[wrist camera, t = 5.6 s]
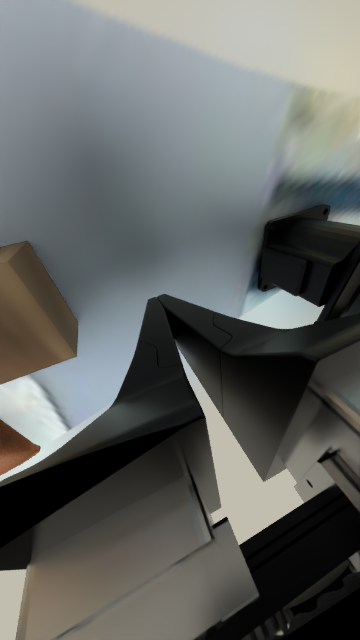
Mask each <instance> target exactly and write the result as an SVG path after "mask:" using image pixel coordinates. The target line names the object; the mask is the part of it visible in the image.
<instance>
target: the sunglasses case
mask: <svg viewBox="0 0 360 640" xmlns="http://www.w3.org/2000/svg"><path fill="white" fill-rule="evenodd" d="M39 451H40V446H38V445H36V444H33V443H32V442H31V441H29V440H28V439H27V438H25V437H24V436H23V435H21V434H19V433H18V432H17V431H16V430H14V429H13V428H11V427H10V426H9V425H7V424H6V423H4V422H3V421H2V420H0V475H2V474H4V473H6V472H8V471H9V470H11V469H13V468H15V467H17V466H18V465H21V464H22V463H23V462H25V461H27V460H29V459H30V458H31V457H33V456H35V455H36V454H37V453H38V452H39Z"/></svg>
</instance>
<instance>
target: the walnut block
mask: <svg viewBox="0 0 360 640" xmlns="http://www.w3.org/2000/svg"><path fill="white" fill-rule="evenodd" d="M77 341H78V321H77V320H76V318H75V316H74V315H73V313H72V311H71V310H70V308H69V307H68V305H67V303H66V302H65V300H64V299H63V297H62V295H61V294H60V292H59V291H58V289H57V287H56V286H55V284H54V283H53V281H52V279H51V278H50V276H49V274H48V273H47V271H46V270H45V268H44V266H43V265H42V263H41V262H40V260H39V258H38V257H37V255H36V254H35V252H34V250H33V249H32V247H31V245H30V244H29V242H28V241H25V242H21V243H16V244H12V245H8V246H4V247H0V385H1V384H3V383H6V382H9V381H11V380H14V379H17V378H19V377H22V376H25V375H28V374H30V373H33V372H36V371H38V370H41V369H44V368H47V367H49V366H52V365H55V364H57V363H60V362H63V361H65V360H68V359H71V358H74V357H76V356H77Z"/></svg>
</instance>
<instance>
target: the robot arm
mask: <svg viewBox="0 0 360 640" xmlns="http://www.w3.org/2000/svg"><path fill="white" fill-rule="evenodd" d="M329 212H330V206H329V205H320V206H317V207H314V208H311V209H307V210H304V211H301V212H297V213H294V214H291V215H287V216H284V217H281V218H277V219H274V220H271V221H269V222H268V223H267V224H266V226H265V232H264V241H263V250H262V259H261V268H260V277H259V286H258V288H259V290H261V291H262V292H265V291H267V290H270V289H273V288H275V287H279V288H281V289H283V290H285V291H286V292H289V293H290V294H292V295H294V296H300V297H301V298H304V299H305V300H307V301H309V302H311V303H313V304H314V305H316V306H318V307H321V306H323V305H325V306H324V308H323V310H322V312H321V314H320V316H319V317H318V319H317V321H315V322H314V324H312V325H307V326H303V327H298V328H294V329H276V328H271V327H267V326H263V325H260V324H255V323H251V322H247V321H243V320H240V319H236V318H233V317H229V316H226V315H223V314H220V313H217V312H214V311H212V310H209V309H206V308H203V307H200V306H197V305H195V304H192V303H189V302H186V301H183V300H180V299H178V298H175V297H172V296H169V295H166V294H163V295H160V296H157V298H156V297H154V298H151V299H148V302H147V306H146V310H145V314H144V318H143V322H142V326H141V330H140V335H139V339H138V342H137V347H136V350H135V354H134V357H133V360H132V362H131V365H130V367H129V370H128V372H127V374H126V377H125V379H124V382H123V384H122V386H121V389H120V391H119V393H118V396H117V398H116V399H115V401H114V403H113V404H112V406H111V407H110V408H109V409H108V410H107V411H106V412H104V413H103V414H102V415H101V416H99V417H98V418H97V419H96V420H94V421H93V422H92V423H91V424H89V425H88V426H87V427H86V428H85V429H83V430H82V431H81V432H80V433H78V434H77V435H76V436H75V437H73V438H72V439H71V440H70V441H68V442H67V443H66V444H65V445H63V446H62V447H61V448H59V449H58V450H57V451H56V452H54V453H52V454H51V455H49V456H48V457H46V458H45V459H44V460H42V461H40V462H39V463H37V464H35V465H33V466H31V467H29V468H27V469H25V470H23V471H21V472H19V473H17V474H15V475H12V476H10V477H8V478H6V479H4V480H2V481H1V482H0V571H3V570H19V569H27V571H26V578H25V584H24V590H23V596H22V602H21V609H20V615H19V621H18V627H17V633H16V640H360V226H358V225H352V224H346V223H339V222H333V221H327V219H328V215H329ZM271 227H272V229H271ZM176 345H177V346H178V348H179V350H180V351H181V353H182V354H183V356H184V357H185V359H186V361H187V362H188V364H189V365H190V367H191V369H192V370H193V372H194V373H195V375H196V376H197V378H198V379H199V381H200V383H201V384H202V386H203V387H204V389H205V390H206V392H207V394H208V395H209V397H210V398H211V400H212V402H213V403H214V405H215V406H216V408H217V409H218V411H219V413H220V414H221V416H222V417H223V418H224V420H225V422H226V424H227V425H228V427H229V428H230V430H231V431H232V433H233V435H234V436H235V438H236V439H237V441H238V443H239V444H240V446H241V447H242V449H243V451H244V452H245V454H246V455H247V457H248V458H249V460H250V462H251V463H252V465H253V466H254V468H255V469H256V471H257V472H258V474H259V476H260V477H261V479H262V480H263V482H264V481H266V480H268V479H270V478H271V477H273V476H275V475H276V474H278V473H280V472H281V471H283V470H285V469H286V468H287V469H288V470H289V472H290V473H291V475H292V476H293V477H294V479H295V480H296V482H297V484H296V485H295V486H294V487H295V489H296V491H297V492H298V494H299V495H300V497H301V498H302V500H303V501H304V504H302V505H301V506H299V507H297V508H296V509H294V510H293V511H291V512H290V513H288V514H286V515H285V516H283V517H282V518H281V519H279V520H277V521H276V522H274V523H273V524H271V525H270V526H268V527H266V528H265V529H263V530H262V531H261V532H259V533H257V534H256V535H254V536H253V537H251V538H250V539H248V540H247V541H245V542H244V543H242V544H240V545H238V542H237V540H236V538H235V535H234V533H233V530H232V528H231V525H230V523H229V520H228V518H227V517H225V518H223V519H222V520H220V521H219V522H217V523H215V524H214V522H213V520H212V517H211V515H210V514H211V513H212V512H214V511H216V510H218V509H219V508H221V504H220V497H219V492H218V486H217V480H216V475H215V469H214V463H213V457H212V452H211V446H210V440H209V435H208V430H207V424H206V418H205V415H204V413H203V410H202V408H201V406H200V404H199V401H198V399H197V398H196V396H195V393H194V391H193V389H192V387H191V385H190V383H189V381H188V379H187V376H186V374H185V371H184V368H183V364H182V362H181V358H180V355H179V352H178V349H177V346H176Z"/></svg>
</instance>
